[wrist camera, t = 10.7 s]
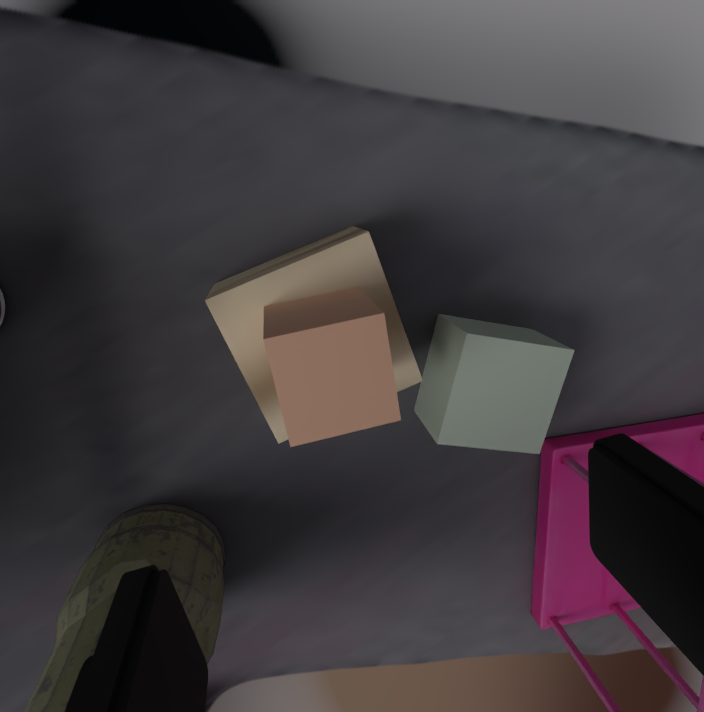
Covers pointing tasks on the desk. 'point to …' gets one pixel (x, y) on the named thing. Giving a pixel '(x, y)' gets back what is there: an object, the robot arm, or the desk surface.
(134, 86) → the desk surface
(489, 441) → the sage block
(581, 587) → the file sorter
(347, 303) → the terracotta block
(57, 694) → the thermos
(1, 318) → the supplement bottle
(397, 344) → the maple block
